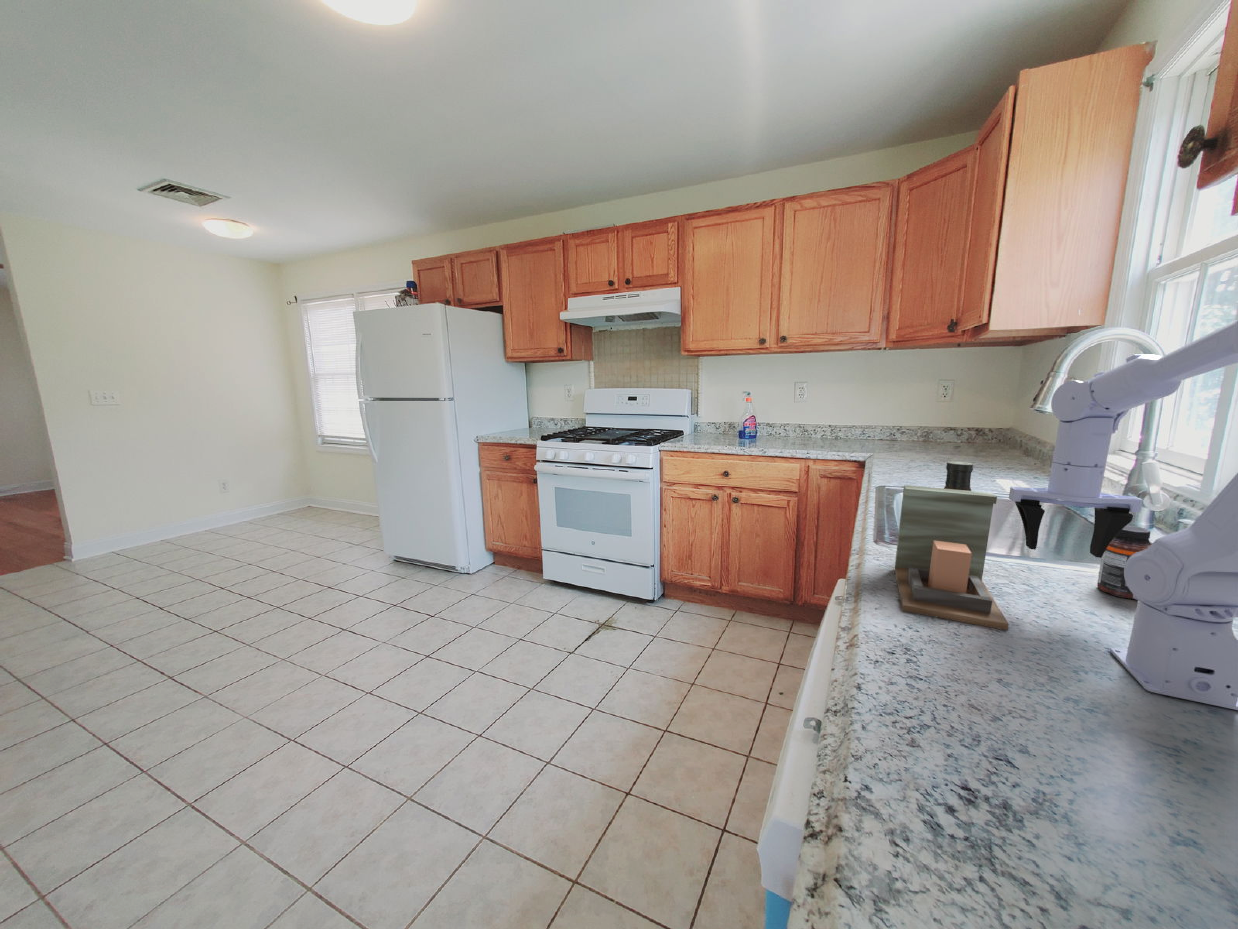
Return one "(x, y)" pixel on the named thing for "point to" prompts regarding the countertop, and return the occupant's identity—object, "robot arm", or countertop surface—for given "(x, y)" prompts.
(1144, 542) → the supplement bottle
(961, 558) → the peg
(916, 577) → the socket stand
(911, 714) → the countertop surface
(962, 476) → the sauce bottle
